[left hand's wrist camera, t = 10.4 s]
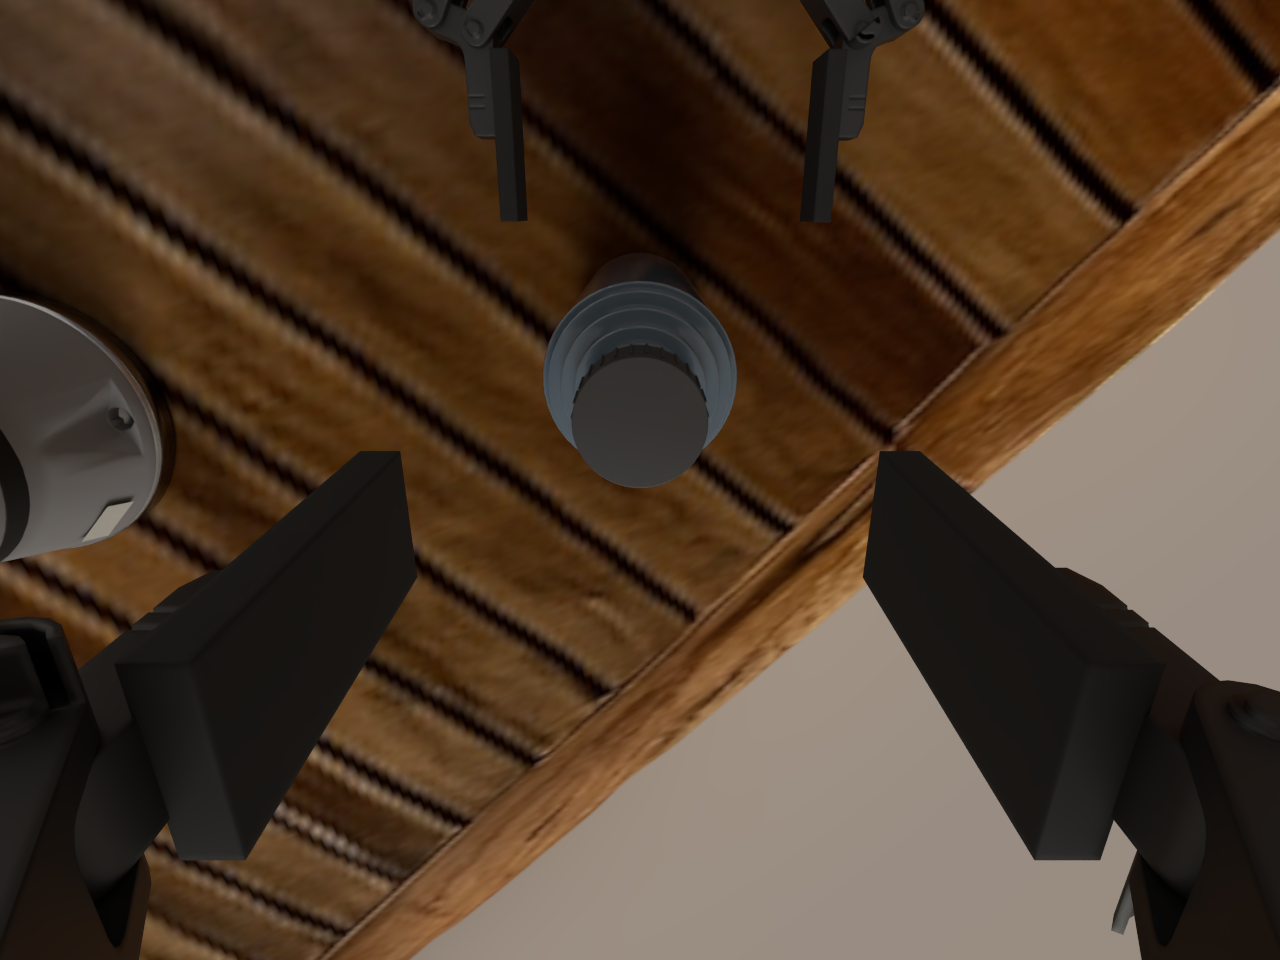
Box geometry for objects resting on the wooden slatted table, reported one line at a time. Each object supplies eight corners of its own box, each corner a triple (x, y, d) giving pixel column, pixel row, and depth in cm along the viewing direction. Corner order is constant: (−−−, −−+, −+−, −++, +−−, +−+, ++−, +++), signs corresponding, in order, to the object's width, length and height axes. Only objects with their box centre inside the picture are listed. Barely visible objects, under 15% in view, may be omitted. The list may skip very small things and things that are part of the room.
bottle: (560, 337, 40) (481, 463, 20) (616, 228, 38) (589, 249, 18) (661, 393, 41) (682, 565, 21) (721, 291, 39) (806, 375, 19)
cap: (552, 431, 21) (545, 450, 19) (613, 317, 20) (611, 327, 18) (663, 489, 22) (665, 512, 20) (729, 383, 20) (737, 398, 19)
